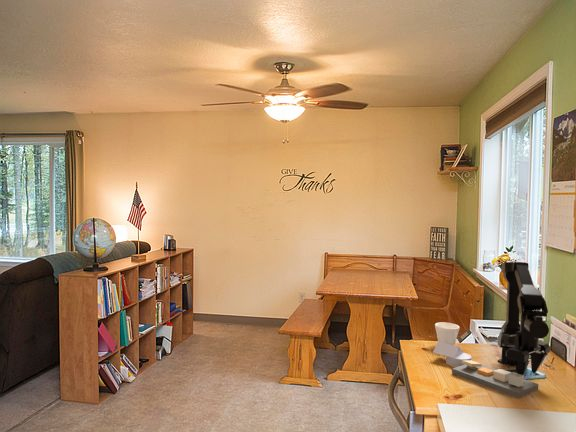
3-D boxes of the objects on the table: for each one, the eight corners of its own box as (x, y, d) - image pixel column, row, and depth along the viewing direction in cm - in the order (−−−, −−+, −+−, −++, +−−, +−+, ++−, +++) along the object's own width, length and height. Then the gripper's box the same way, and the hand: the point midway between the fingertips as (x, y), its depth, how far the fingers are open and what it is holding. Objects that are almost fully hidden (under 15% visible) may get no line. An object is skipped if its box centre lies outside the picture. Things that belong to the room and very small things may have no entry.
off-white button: (499, 375, 160) (499, 368, 159) (510, 379, 156) (511, 372, 156) (493, 378, 157) (493, 370, 157) (504, 382, 154) (504, 374, 154)
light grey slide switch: (513, 381, 154) (513, 372, 154) (523, 385, 151) (523, 375, 151) (508, 383, 152) (508, 373, 152) (518, 387, 149) (519, 377, 149)
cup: (455, 352, 189) (456, 330, 189) (431, 347, 194) (432, 326, 194) (460, 346, 198) (461, 324, 197) (437, 341, 203) (438, 321, 203)
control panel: (472, 367, 173) (473, 359, 173) (538, 389, 153) (538, 381, 153) (451, 374, 165) (452, 366, 165) (518, 398, 146) (518, 390, 146)
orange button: (483, 373, 164) (483, 367, 164) (493, 377, 161) (494, 370, 161) (477, 376, 162) (477, 369, 162) (487, 380, 159) (488, 372, 159)
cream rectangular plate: (471, 363, 169) (471, 360, 169) (481, 366, 166) (481, 363, 166) (461, 363, 166) (462, 360, 166) (471, 366, 163) (472, 363, 163)
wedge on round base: (432, 361, 178) (466, 370, 170) (433, 344, 178) (466, 352, 169) (441, 355, 185) (474, 364, 176) (442, 339, 185) (475, 346, 176)
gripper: (519, 320, 167) (517, 363, 167) (491, 327, 156) (489, 373, 156) (552, 328, 158) (549, 373, 158) (524, 336, 147) (522, 384, 147)
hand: (527, 375), depth 155 cm, fingers open, 9 cm apart
